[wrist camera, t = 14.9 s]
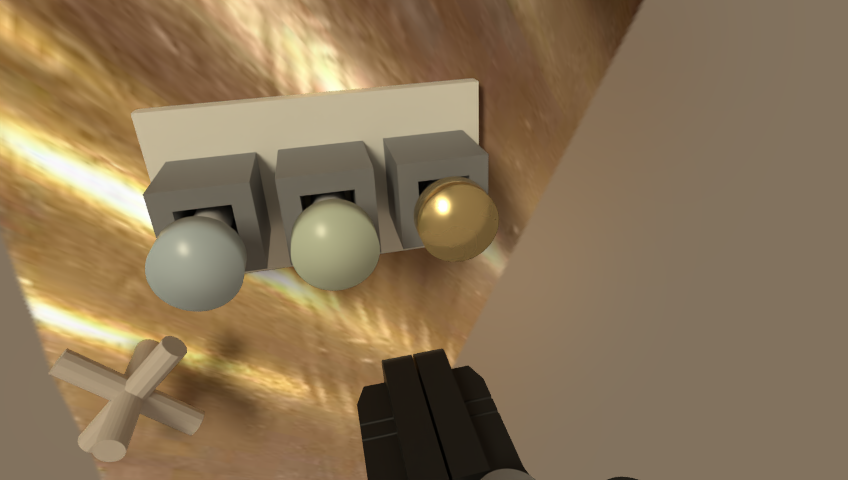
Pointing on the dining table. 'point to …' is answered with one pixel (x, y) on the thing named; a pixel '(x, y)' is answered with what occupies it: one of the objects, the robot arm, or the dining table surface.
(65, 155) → the dining table surface
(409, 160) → the socket board
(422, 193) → the brass plug
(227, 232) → the slate plug
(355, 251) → the sage plug
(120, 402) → the pipe connector
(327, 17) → the dining table surface
